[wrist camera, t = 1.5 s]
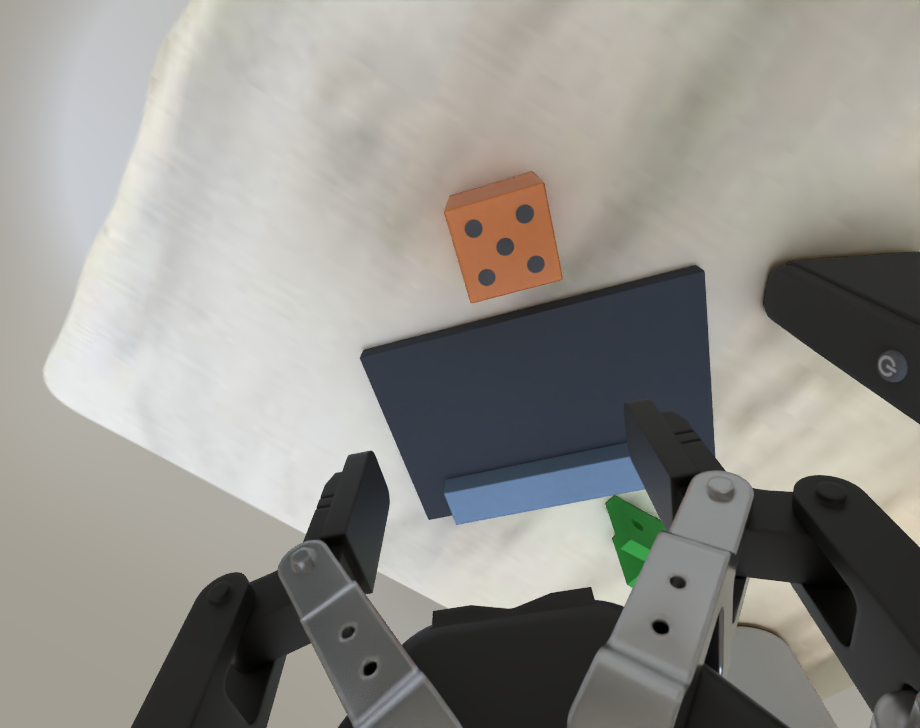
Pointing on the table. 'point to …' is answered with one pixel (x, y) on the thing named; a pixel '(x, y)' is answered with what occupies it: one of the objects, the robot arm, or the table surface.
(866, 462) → the table surface
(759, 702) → the cylinder vase
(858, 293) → the dark grey rounded box
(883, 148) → the table surface
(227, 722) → the robot arm
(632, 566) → the pipe clamp
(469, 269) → the die
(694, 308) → the bed mat
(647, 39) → the table surface
